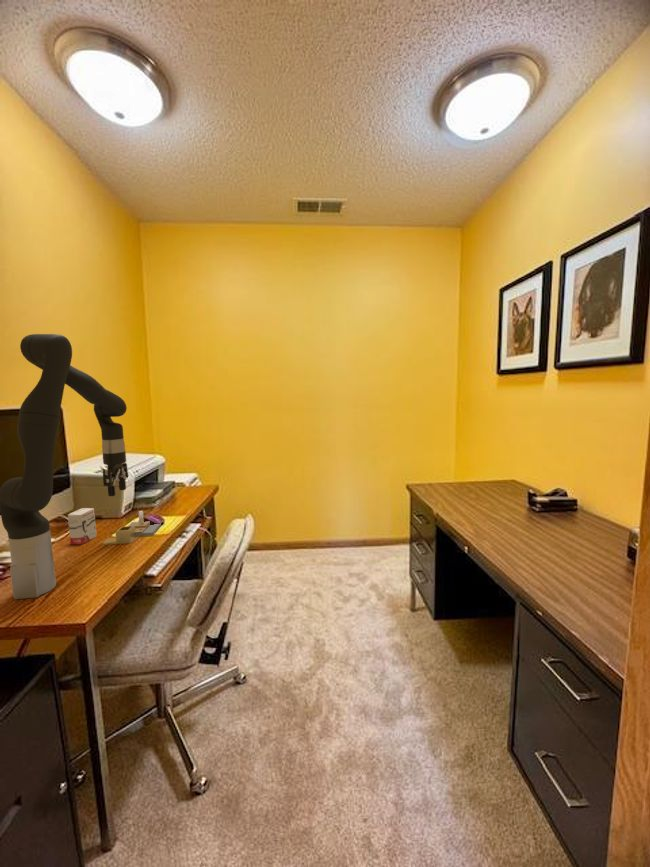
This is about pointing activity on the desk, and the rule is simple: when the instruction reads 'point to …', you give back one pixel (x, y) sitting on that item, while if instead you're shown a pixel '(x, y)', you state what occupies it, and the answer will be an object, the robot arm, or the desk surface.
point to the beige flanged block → (122, 536)
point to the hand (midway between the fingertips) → (117, 492)
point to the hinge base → (149, 530)
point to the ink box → (82, 525)
